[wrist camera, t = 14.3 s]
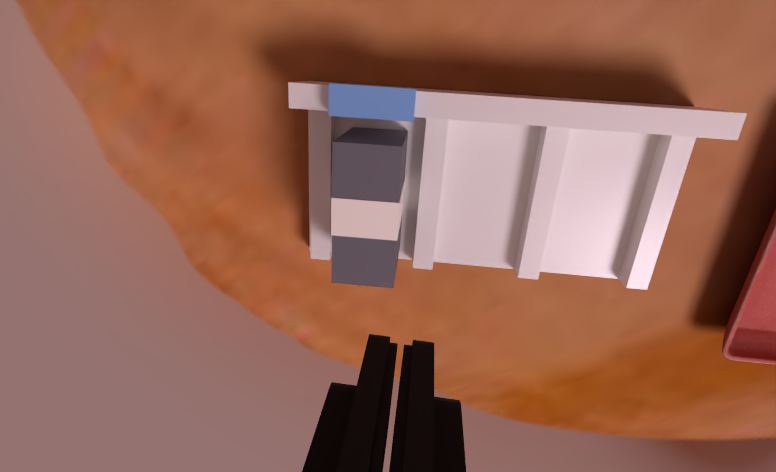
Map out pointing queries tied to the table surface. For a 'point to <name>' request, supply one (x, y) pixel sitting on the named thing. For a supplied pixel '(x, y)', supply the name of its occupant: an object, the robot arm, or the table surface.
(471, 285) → the table surface
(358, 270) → the block
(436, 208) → the white ribbed panel
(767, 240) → the plant saucer
